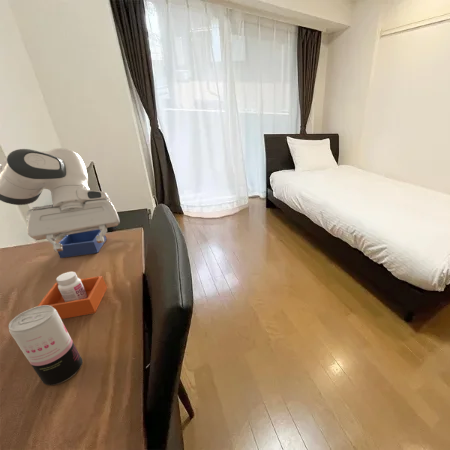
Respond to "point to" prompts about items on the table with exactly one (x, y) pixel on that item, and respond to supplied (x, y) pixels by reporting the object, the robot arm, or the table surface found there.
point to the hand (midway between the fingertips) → (80, 246)
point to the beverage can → (46, 344)
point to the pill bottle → (71, 287)
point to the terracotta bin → (94, 291)
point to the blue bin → (80, 244)
